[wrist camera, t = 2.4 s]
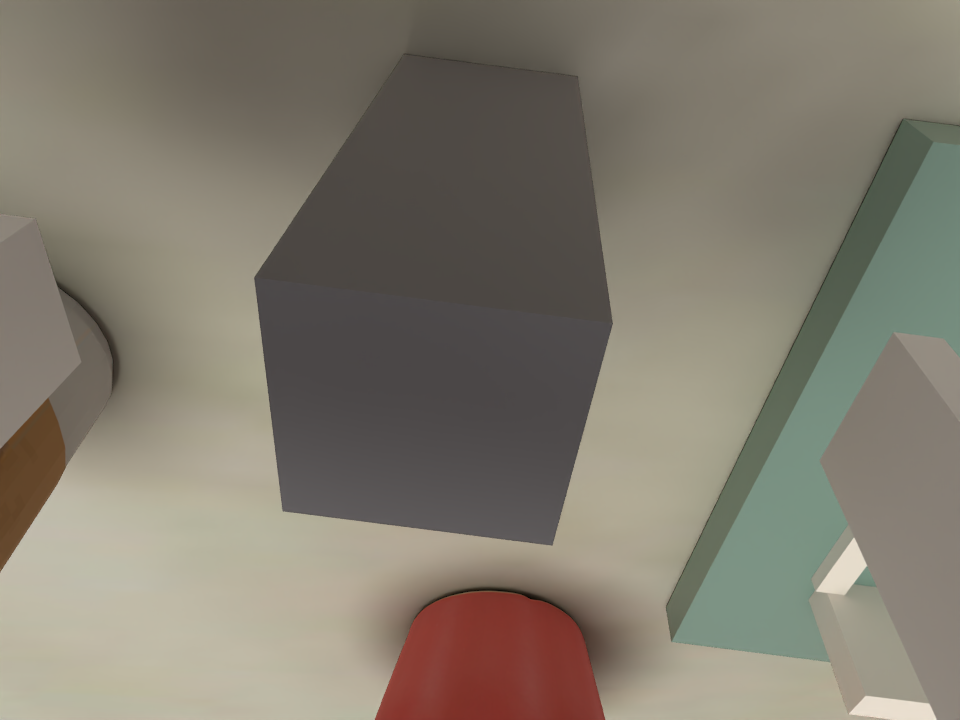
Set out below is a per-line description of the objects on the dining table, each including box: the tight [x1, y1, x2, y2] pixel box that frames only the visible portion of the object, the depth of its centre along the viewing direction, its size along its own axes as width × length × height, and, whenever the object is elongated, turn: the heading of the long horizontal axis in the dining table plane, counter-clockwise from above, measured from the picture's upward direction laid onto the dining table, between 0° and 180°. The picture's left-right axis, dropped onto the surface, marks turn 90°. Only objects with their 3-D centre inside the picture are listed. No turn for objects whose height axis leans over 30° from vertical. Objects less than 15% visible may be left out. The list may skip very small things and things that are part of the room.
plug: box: [254, 54, 613, 545], centre depth 13 cm, size 5×4×10 cm
